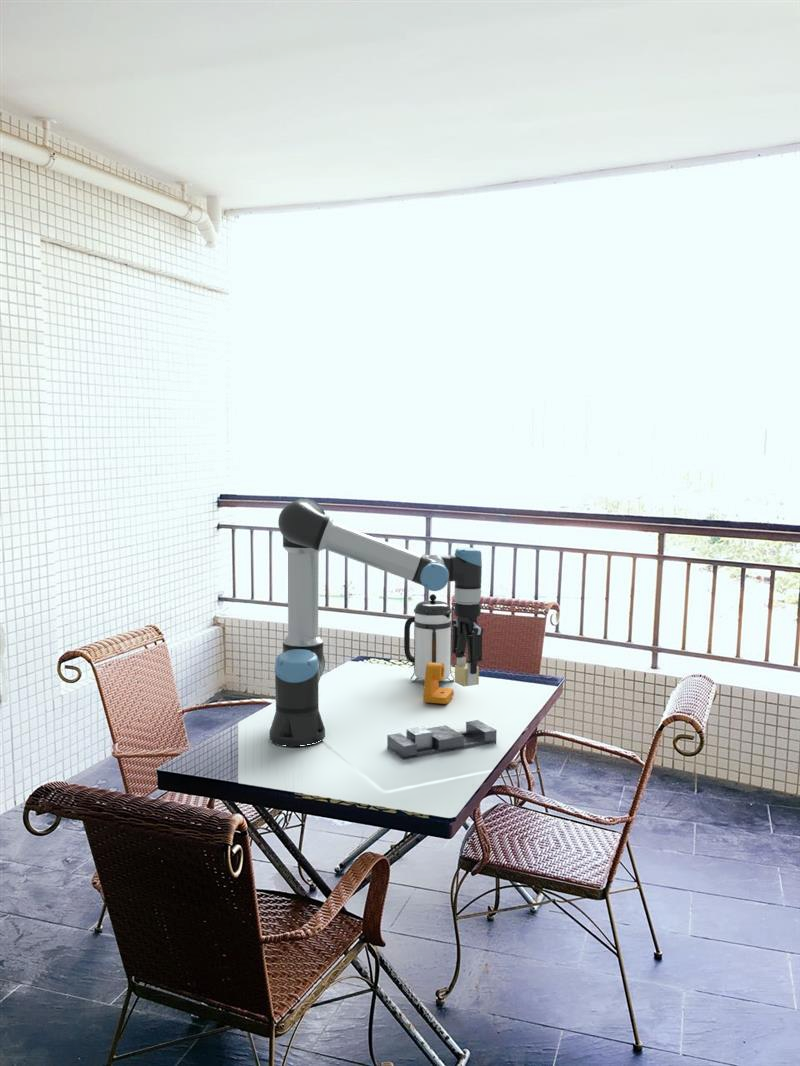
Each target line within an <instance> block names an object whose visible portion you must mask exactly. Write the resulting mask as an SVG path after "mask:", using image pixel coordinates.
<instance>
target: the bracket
mask: <svg viewBox="0 0 800 1066" xmlns="http://www.w3.org/2000/svg"><path fill="white" fill-rule="evenodd" d="M444 670H445V669H444V664H443V663H432V662H428V663H427V666H426V673H425V680H424V684H423V693H422V702H423V703H432V704H442V705H443V704H445V705H448V704H450V702H451V701H452V700H453V697H454V694H455V692H454V688H451V687H450V688H449V687H440V685H439V683H440V682H442V681H444V680H443V678H444ZM438 680H440V681H438Z"/></svg>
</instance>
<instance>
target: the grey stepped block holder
mask: <svg viewBox="0 0 800 1066" xmlns="http://www.w3.org/2000/svg"><path fill="white" fill-rule="evenodd" d="M426 729H428V730H430V731H431V732H432V749H431V750H426V751H420V752H417V744H416V743H414V742H413V741H411V740H410V739H408V738H407V737H406V736H405V735H404V734H402V733H401V732H398V733H393V734H388V735H387V737H386V738H387V741H386V742H387V746H386V747H387V749H388V750H390V751H391V752H393V753H394V754H395V755H396V756H398V757H399V758H401V759H402V760H409V759H410V760H411V759H413V758H419V757H420V758H421V757H425V756H432V755H436V754H442V753H447V752H452V751H458V750H463V749H468V748H469V749H470V748H474V747H479V746H484V745H485V746H486V745H490V744H494V745H497V732H498V730H497V729H496V728H493V727H492V726H490V725H487V724H486V723H484V722H482V721H480V720H479V719H476V720H470V721H469V720H468V721H466V722H465V730H464V731H460V732H458V731H456V730H455V729H453V728H451V727H450V726H447V725H440V726H434V727H426Z"/></svg>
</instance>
